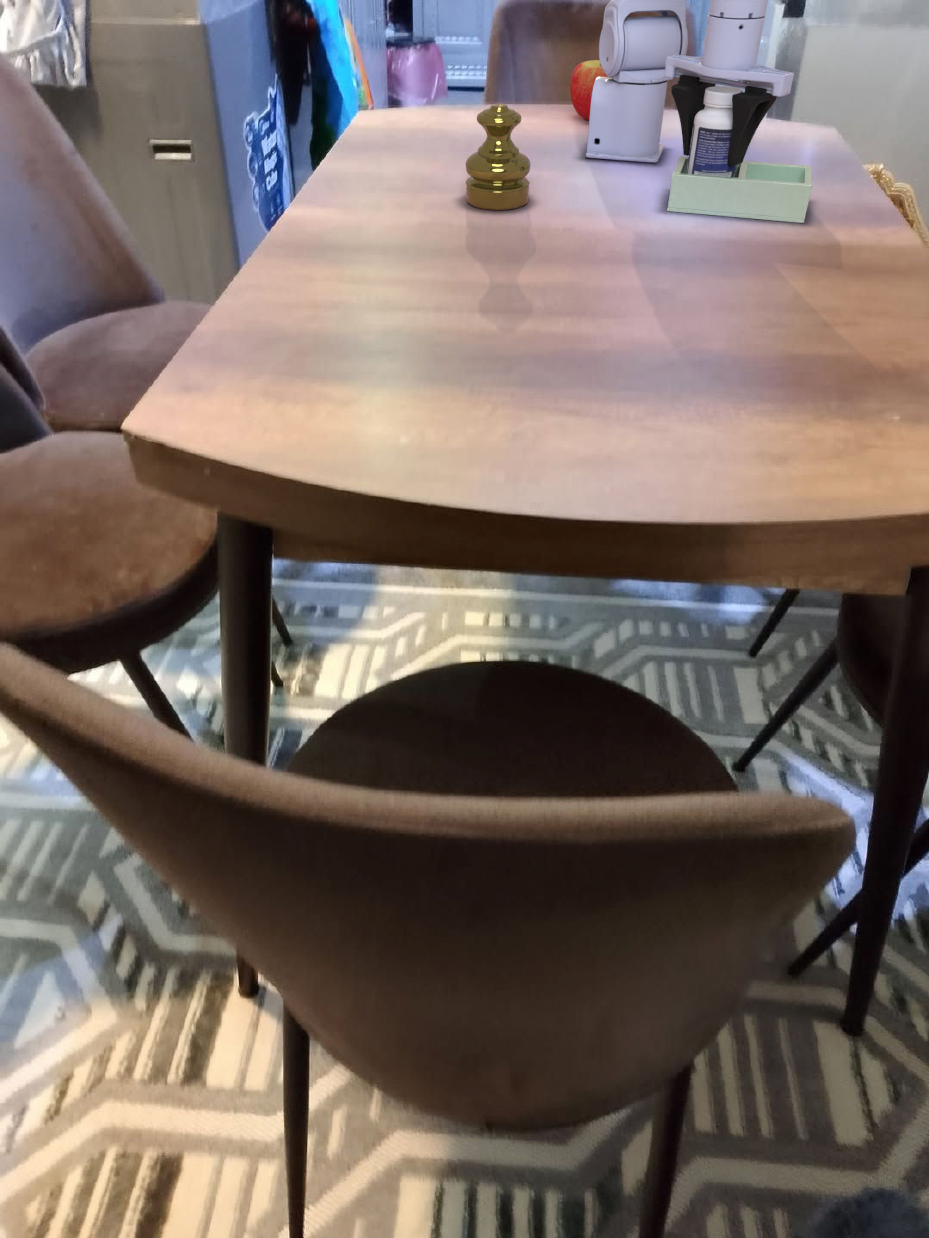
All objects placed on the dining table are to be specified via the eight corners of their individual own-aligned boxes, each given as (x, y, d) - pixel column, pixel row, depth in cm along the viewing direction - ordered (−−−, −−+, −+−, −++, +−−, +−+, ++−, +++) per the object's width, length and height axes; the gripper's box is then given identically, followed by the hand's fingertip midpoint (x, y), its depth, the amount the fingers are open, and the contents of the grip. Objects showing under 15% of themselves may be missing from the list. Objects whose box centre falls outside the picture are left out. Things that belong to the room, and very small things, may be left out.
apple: (608, 129, 132) (615, 49, 126) (557, 121, 136) (561, 43, 129) (632, 118, 137) (641, 40, 131) (582, 110, 141) (588, 35, 134)
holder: (803, 223, 100) (812, 185, 98) (667, 211, 104) (672, 174, 101) (804, 202, 106) (812, 166, 104) (674, 191, 109) (679, 156, 107)
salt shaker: (481, 215, 102) (482, 116, 96) (455, 196, 108) (455, 101, 101) (539, 206, 105) (544, 109, 98) (511, 189, 110) (514, 95, 103)
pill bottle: (741, 190, 103) (759, 93, 97) (699, 195, 102) (714, 96, 95) (717, 177, 107) (733, 83, 100) (676, 181, 106) (689, 86, 99)
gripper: (820, 19, 92) (788, 164, 101) (699, 4, 100) (679, 140, 108) (784, 26, 88) (754, 177, 97) (661, 11, 96) (644, 151, 105)
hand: (712, 159), depth 102 cm, fingers closed on pill bottle, 5 cm apart
